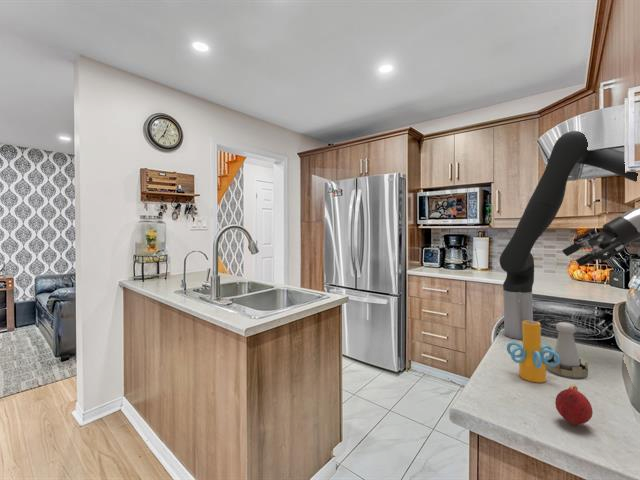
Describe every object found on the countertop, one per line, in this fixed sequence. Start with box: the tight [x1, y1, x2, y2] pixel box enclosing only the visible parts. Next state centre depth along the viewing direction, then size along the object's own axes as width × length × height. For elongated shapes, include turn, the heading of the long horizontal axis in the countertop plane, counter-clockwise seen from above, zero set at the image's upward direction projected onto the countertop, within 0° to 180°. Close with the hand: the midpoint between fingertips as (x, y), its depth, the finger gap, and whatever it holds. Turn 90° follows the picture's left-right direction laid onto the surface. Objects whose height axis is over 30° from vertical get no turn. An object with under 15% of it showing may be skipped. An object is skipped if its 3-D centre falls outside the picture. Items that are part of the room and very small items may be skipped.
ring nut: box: [544, 355, 589, 380], centre depth 86 cm, size 9×9×3 cm
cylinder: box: [506, 320, 560, 384], centre depth 83 cm, size 12×10×15 cm
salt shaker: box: [554, 321, 580, 370], centre depth 86 cm, size 6×6×13 cm
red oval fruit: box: [554, 384, 593, 427], centre depth 62 cm, size 6×6×8 cm
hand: (570, 258), depth 92 cm, fingers open, 8 cm apart
